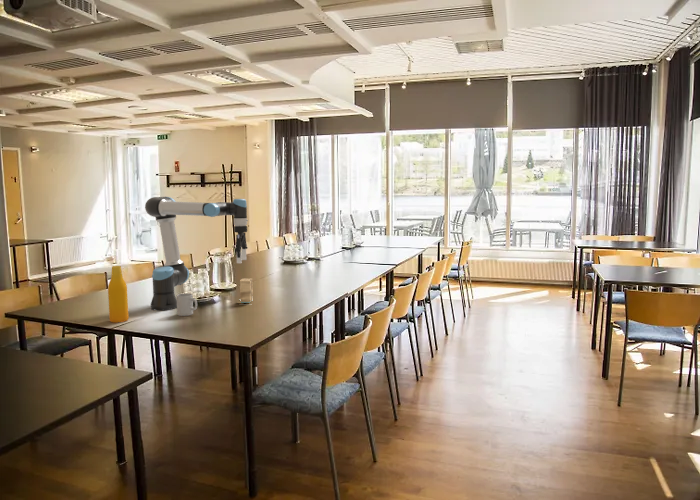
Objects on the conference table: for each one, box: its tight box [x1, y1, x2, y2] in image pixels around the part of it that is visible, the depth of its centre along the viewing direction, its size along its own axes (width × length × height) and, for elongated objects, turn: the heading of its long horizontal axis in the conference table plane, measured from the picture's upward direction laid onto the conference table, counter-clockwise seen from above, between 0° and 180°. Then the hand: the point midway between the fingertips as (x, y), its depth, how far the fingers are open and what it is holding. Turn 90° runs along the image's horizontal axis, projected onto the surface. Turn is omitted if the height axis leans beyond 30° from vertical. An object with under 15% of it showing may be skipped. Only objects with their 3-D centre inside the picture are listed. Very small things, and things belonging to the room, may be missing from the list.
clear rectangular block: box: [239, 278, 254, 303], centre depth 314 cm, size 6×6×14 cm
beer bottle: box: [107, 265, 130, 324], centre depth 272 cm, size 9×9×29 cm
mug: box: [176, 292, 198, 317], centre depth 287 cm, size 12×8×11 cm
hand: (241, 261), depth 304 cm, fingers open, 13 cm apart
